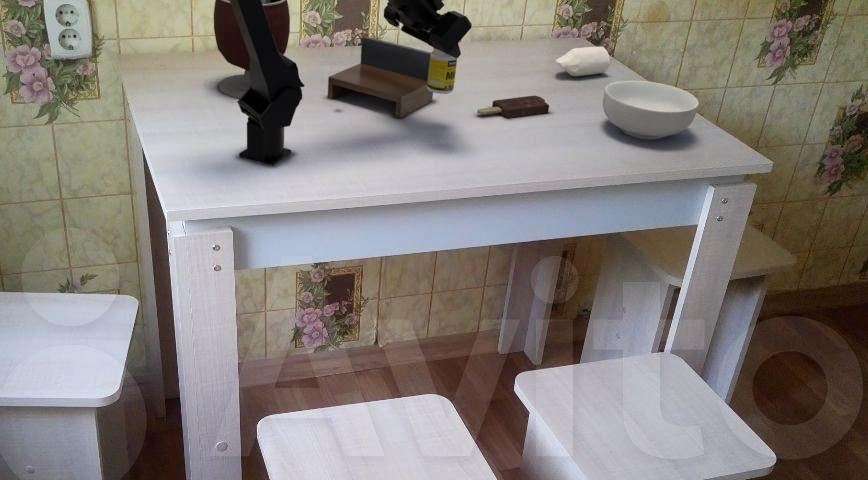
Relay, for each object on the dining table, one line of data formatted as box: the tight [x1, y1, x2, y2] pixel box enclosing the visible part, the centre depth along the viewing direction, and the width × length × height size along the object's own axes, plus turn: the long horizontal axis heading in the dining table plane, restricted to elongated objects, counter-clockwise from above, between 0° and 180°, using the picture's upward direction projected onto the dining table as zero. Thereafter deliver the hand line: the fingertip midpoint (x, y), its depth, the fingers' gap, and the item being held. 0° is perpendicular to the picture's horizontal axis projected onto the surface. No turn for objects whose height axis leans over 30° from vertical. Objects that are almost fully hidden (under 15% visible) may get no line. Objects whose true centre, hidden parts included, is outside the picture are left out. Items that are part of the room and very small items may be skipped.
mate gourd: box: [213, 0, 291, 99], centre depth 182 cm, size 16×14×20 cm
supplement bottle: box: [427, 47, 458, 95], centre depth 171 cm, size 5×5×8 cm
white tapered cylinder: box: [555, 46, 611, 77], centre depth 204 cm, size 6×12×6 cm, turn 119°
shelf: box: [327, 35, 434, 119], centre depth 184 cm, size 12×16×9 cm
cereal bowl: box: [602, 79, 699, 141], centre depth 179 cm, size 17×17×7 cm
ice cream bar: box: [476, 95, 550, 119], centre depth 185 cm, size 5×2×15 cm
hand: (450, 51), depth 170 cm, fingers closed on supplement bottle, 4 cm apart
